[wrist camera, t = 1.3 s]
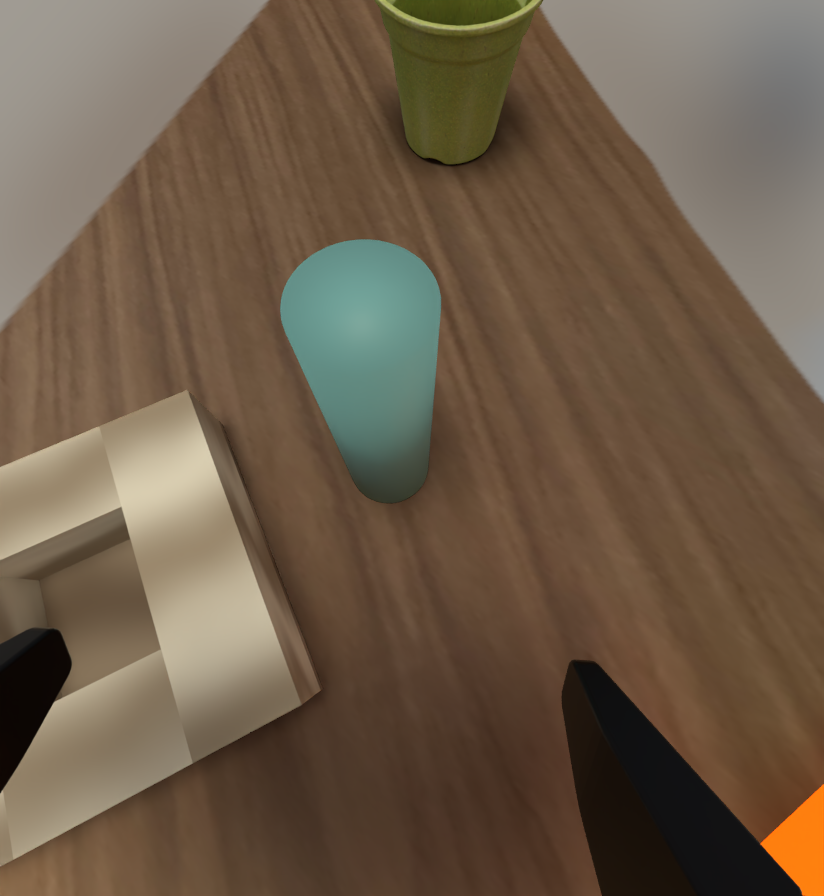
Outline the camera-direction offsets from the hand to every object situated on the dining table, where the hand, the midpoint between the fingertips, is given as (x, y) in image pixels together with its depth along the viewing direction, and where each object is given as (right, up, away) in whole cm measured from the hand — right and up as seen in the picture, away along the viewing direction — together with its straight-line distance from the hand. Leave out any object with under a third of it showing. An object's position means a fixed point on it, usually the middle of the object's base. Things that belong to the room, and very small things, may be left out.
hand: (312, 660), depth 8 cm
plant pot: (+4, +25, +24) cm, 35 cm away
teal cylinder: (+1, +3, +16) cm, 16 cm away
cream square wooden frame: (-11, -4, +13) cm, 18 cm away
